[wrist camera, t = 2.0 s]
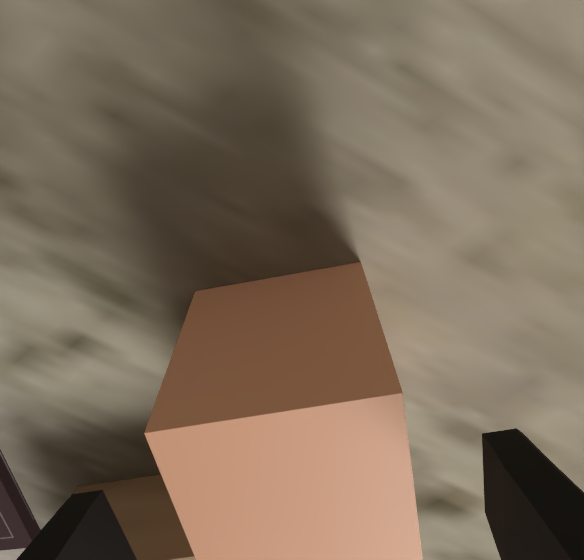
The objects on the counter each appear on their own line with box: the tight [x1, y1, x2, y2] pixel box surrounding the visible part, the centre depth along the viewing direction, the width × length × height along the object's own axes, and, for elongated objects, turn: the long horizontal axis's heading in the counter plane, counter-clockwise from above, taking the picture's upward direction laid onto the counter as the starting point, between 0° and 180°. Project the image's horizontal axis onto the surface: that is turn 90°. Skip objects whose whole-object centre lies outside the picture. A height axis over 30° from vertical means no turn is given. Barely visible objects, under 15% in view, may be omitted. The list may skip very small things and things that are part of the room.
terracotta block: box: [144, 262, 423, 560], centre depth 12 cm, size 4×4×6 cm
